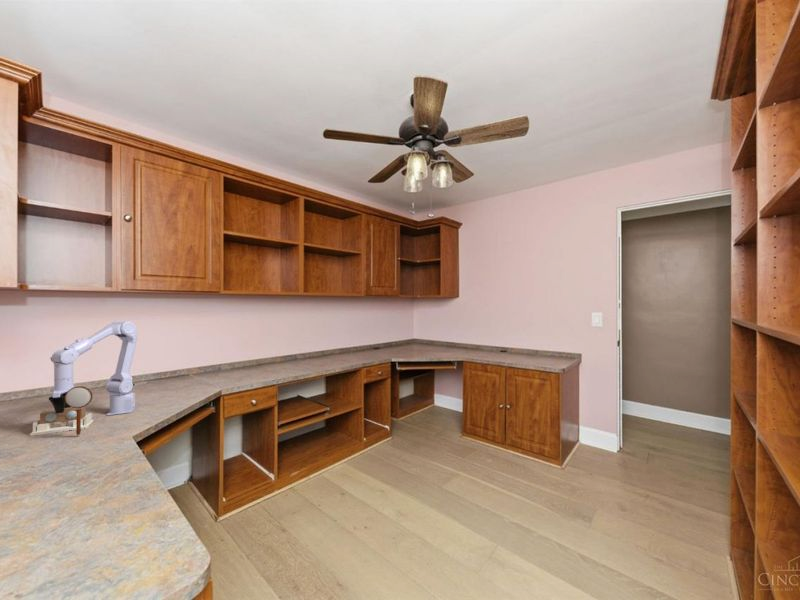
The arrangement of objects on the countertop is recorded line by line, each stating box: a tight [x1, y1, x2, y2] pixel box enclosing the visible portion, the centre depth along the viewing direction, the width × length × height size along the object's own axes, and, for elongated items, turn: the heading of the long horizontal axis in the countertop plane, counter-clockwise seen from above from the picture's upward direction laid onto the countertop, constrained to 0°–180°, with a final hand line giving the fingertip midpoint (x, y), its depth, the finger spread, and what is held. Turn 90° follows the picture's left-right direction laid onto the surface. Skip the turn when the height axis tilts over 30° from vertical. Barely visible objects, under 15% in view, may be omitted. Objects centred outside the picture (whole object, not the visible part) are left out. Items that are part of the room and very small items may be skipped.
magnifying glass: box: [65, 385, 93, 437], centre depth 134 cm, size 9×2×20 cm, turn 110°
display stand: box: [29, 412, 95, 437], centre depth 142 cm, size 17×9×4 cm, turn 117°
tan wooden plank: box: [39, 406, 86, 424], centre depth 142 cm, size 13×4×4 cm, turn 117°
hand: (63, 410), depth 142 cm, fingers open, 7 cm apart
